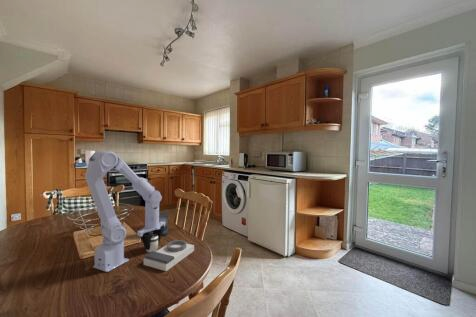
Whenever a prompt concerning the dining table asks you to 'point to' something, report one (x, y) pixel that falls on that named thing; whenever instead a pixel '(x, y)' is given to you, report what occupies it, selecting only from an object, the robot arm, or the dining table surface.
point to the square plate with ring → (168, 255)
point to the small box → (164, 218)
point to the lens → (153, 243)
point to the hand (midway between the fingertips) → (152, 246)
